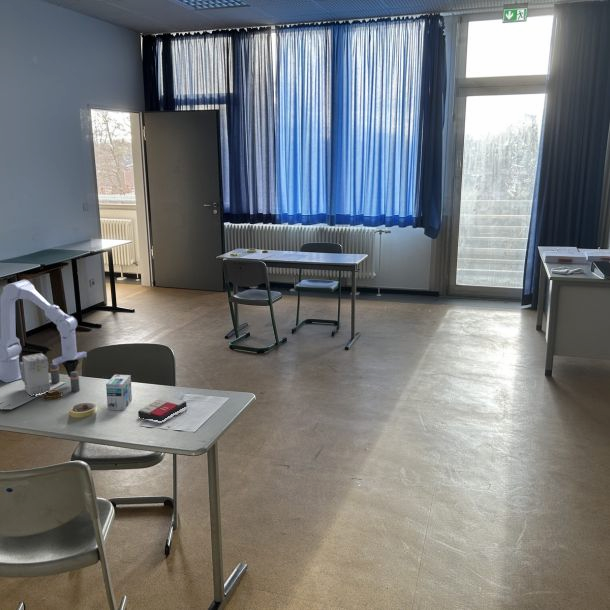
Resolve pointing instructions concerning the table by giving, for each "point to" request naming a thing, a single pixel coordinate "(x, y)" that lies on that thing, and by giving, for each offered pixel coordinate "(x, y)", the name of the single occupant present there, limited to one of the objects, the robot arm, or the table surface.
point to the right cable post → (74, 381)
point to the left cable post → (54, 373)
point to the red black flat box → (161, 408)
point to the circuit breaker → (35, 373)
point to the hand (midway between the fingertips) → (71, 376)
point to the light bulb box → (119, 392)
